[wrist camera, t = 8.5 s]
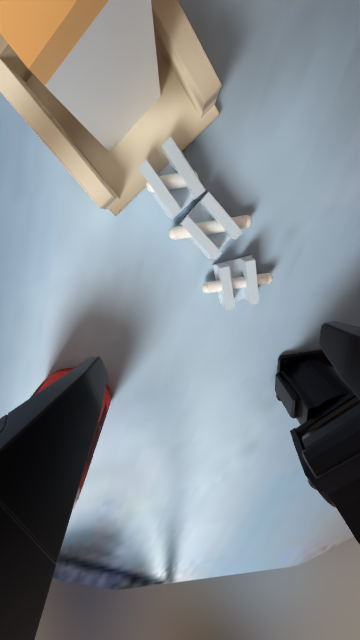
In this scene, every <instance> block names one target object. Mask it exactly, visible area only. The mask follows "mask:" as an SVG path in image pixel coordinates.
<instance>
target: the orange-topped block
mask: <svg viewBox="0 0 360 640" xmlns="http://www.w3.org/2000/svg"><path fill="white" fill-rule="evenodd" d="M0 34H1V35H2V36H3V38H4V39H5V40H6V41H7V43H8V44H9V45H10V46H11V48H12V49H13V50H14V51H15V53H16V54H17V55H18V57H19V58H20V59H21V60H22V62H23V63H24V64H25V65H26V67H27V68H28V69H29V70H30V71H31V72H32V73H33V74H34V75H35V76H36V77H37V78H38V79H39V80H40V81H41V83H42V84H43V85H44V86H45V87H46V88H47V89H48V90H49V91H50V92H51V93H52V94H53V95H54V96H55V97H56V98H57V99H58V100H59V101H60V102H61V103H62V104H63V105H64V106H65V107H66V108H67V109H68V110H69V111H70V112H71V113H72V114H73V115H74V117H75V118H76V119H77V120H78V121H79V122H80V123H81V124H82V125H83V126H84V127H85V128H86V129H87V130H88V131H89V132H90V133H91V134H92V135H93V136H94V137H95V138H96V139H97V140H98V141H99V142H100V143H101V144H102V145H103V146H104V147H105V148H106V149H107V151H108V152H110V151H111V150H112V149H113V148H114V147H115V146H116V145H117V144H118V142H119V141H120V140H121V139H122V138H123V137H124V136H125V135H126V134H127V133H128V131H129V130H130V129H131V128H132V127H133V126H134V125H135V124H136V123H137V122H138V121H139V119H140V118H141V117H142V116H143V115H144V114H145V113H146V112H147V111H148V110H149V109H150V107H151V106H152V105H153V104H154V103H155V102H156V101H157V100H158V99H159V98H160V96H161V95H160V85H159V75H158V65H157V55H156V45H155V35H154V25H153V15H152V5H151V0H0Z"/></svg>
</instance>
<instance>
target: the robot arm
mask: <svg viewBox="0 0 360 640" xmlns="http://www.w3.org/2000/svg"><path fill="white" fill-rule="evenodd" d="M319 344H320V347H321V349H322V350H320V351H313V352H306V353H299V354H292V355H285V356H281V357H279V359H278V373H277V374H276V381H275V391H276V393H277V394H276V396H277V399H278V400H279V401H282V403H283V405H284V406H285V408H286V410H287V412H288V413H289V415H290V416H291V417H292V418H297V420H298V421H299V423H300V426H299V427H297V428H296V429H295V428H294V429H292V430H291V431H290V432H291V435H292V438H293V439H292V440H293V442H294V445H295V448H296V451H297V453H298V456H299V459H300V462H301V465H302V467H303V470H304V473H305V475H306V476H307V478H308V482H309V484H310V486H311V487H312V488H314V489H316V490H318V492H319V493H320V494H321V495H322V497H323V498H324V499H325V500H326V501H327V502H328V503H329V504H331V505H332V506H333V507H336V508H337V509H338V511H339V512H340V514H341V516H342V517H343V519H344V520H345V522H346V524H347V525H348V527H349V529H350V530H351V532H352V533H353V535H354V537H355V538H356V540H357V541H358V543H359V544H360V327H355V326H351V325H346V324H342V323H337V322H329V323H324V324H323V325H322V326H321V332H320V339H319ZM283 360H284V361H283ZM106 382H107V372H106V369H105V366H104V363H103V361H102V359H101V357H91V358H89V359H87V360H86V361H84V362H83V363H81V364H80V365H78V366H77V367H75V368H74V369H73V370H71V371H70V372H68V373H67V374H65V375H64V376H62V377H61V378H59V379H58V380H56V381H55V382H53V383H52V384H51V385H49V386H48V387H46V388H45V389H43V390H42V391H40V392H39V393H37V394H36V395H34V396H33V397H31V398H30V399H28V400H27V401H26V402H24V403H23V404H21V405H20V406H18V407H17V408H15V409H14V410H12V411H11V412H9V413H8V415H5V416H3V417H2V418H0V640H34V639H35V636H36V632H37V629H38V626H39V622H40V619H41V615H42V612H43V609H44V605H45V602H46V598H47V595H48V592H49V588H50V585H51V581H52V578H53V575H54V571H55V568H56V562H57V560H58V557H59V554H60V550H61V547H62V543H63V540H64V537H65V533H66V530H67V526H68V523H69V520H70V516H71V513H72V509H73V506H74V503H75V499H76V496H77V492H78V489H79V486H80V482H81V479H82V475H83V472H84V469H85V465H86V462H87V458H88V455H89V452H90V448H91V445H92V441H93V438H94V435H95V431H96V428H97V424H98V421H99V418H100V414H101V410H102V405H103V399H104V393H105V388H106Z"/></svg>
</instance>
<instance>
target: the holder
mask: <svg viewBox="0 0 360 640" xmlns="http://www.w3.org/2000/svg"><path fill="white" fill-rule="evenodd" d="M151 5H152V15H153V25H154V35H155V45H156V55H157V65H158V75H159V85H160V95H161V96H160V98H159V99H158V100H157V101H156V102H155V103H154V104H153V105H152V106H151V107H150V109H149V110H148V111H147V112H146V113H145V114H144V115H143V116H142V117H141V118H140V119H139V121H138V122H137V123H136V124H135V125H134V126H133V127H132V128H131V129H130V130H129V131H128V133H127V134H126V135H125V136H124V137H123V138H122V139H121V140H120V141H119V142H118V144H117V145H116V146H115V147H114V148H113V149H112V150H111V151H110V152H108V151H107V149H106V148H105V147H104V146H103V145H102V144H101V143H100V142H99V141H98V140H97V139H96V138H95V137H94V136H93V135H92V134H91V133H90V132H89V131H88V130H87V129H86V128H85V127H84V126H83V125H82V124H81V123H80V122H79V121H78V120H77V119H76V118H75V117H74V115H73V114H72V113H71V112H70V111H69V110H68V109H67V108H66V107H65V106H64V105H63V104H62V103H61V102H60V101H59V100H58V99H57V98H56V97H55V96H54V95H53V94H52V93H51V92H50V91H49V90H48V89H47V88H46V87H45V86H44V85H43V84H42V83H41V81H40V80H39V79H38V78H37V77H36V76H35V75H34V74H33V73H32V72H31V71H30V70H29V69H28V68H27V67H26V65H25V64H24V63H23V62H22V60H21V59H20V58H19V57H18V55H17V54H16V53H15V51H14V50H13V49H12V48H11V46H10V45H9V44H8V43H7V41H6V40H5V39H4V38H3V36H2V35H1V34H0V92H1V93H2V94H3V95H4V96H5V97H6V99H7V100H8V101H9V102H10V103H11V105H12V106H13V107H14V108H15V109H16V110H17V112H18V113H19V114H20V115H21V116H22V117H23V119H24V120H25V121H26V122H27V123H28V124H29V126H30V127H31V128H32V129H33V130H34V131H35V133H36V134H37V135H38V136H39V137H40V138H41V140H42V141H43V142H44V143H45V144H46V145H47V147H48V148H49V149H50V150H51V151H52V152H53V154H54V155H55V156H56V157H57V158H58V159H59V161H60V162H61V163H62V164H63V165H64V166H65V168H66V169H67V170H68V171H69V172H70V174H71V175H72V176H73V177H74V178H75V179H76V181H77V182H78V183H79V184H80V185H81V186H82V188H83V189H84V190H85V191H86V192H87V193H88V195H89V196H90V197H91V198H92V199H93V200H94V202H95V203H96V204H97V205H98V206H99V207H100V208H103V209H109V210H110V211H111V212H112V213H113V214H114V215H115V216H116V215H117V214H118V213H120V212H121V211H122V210H123V209H124V208H125V207H126V206H127V205H128V204H129V203H130V202H131V201H132V200H133V199H134V198H135V197H136V196H137V195H138V194H139V193H140V192H141V191H142V190H143V189H144V188H145V187H146V183H147V180H146V179H145V177H144V176H143V175H142V173H141V172H140V171H139V169H138V167H139V166H140V165H141V164H142V163H143V162H144V161H145V160H147V161H148V163H149V164H150V166H151V167H152V168H153V170H154V171H155V173H156V174H158V173H159V172H160V171H161V170H162V169H163V168H164V167H166V166H167V165H168V164H169V163H170V162H169V160H168V159H167V157H166V156H165V154H164V153H163V151H162V145H163V144H164V143H165V142H166V141H167V140H168V139H169V138H170V137H171V138H172V139H173V141H174V142H175V144H176V145H177V147H178V148H179V150H180V152H181V151H183V150H184V149H185V148H186V147H187V146H188V145H189V144H190V143H191V142H192V141H194V140H195V139H196V138H197V137H198V136H199V135H200V134H201V133H202V132H203V131H204V130H205V129H206V128H207V127H208V126H209V125H210V124H211V123H212V122H213V121H214V120H215V119H216V118H217V117H218V116H219V112H218V110H217V108H216V107H215V102H216V99H217V97H218V94H219V91H220V89H221V86H222V84H221V82H220V80H219V79H218V77H217V75H216V73H215V71H214V69H213V67H212V65H211V63H210V61H209V59H208V57H207V55H206V53H205V52H204V50H203V48H202V46H201V44H200V42H199V40H198V38H197V36H196V34H195V32H194V30H193V28H192V27H191V25H190V23H189V21H188V19H187V17H186V15H185V13H184V11H183V9H182V7H181V5H180V3H179V1H178V0H151Z"/></svg>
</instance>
